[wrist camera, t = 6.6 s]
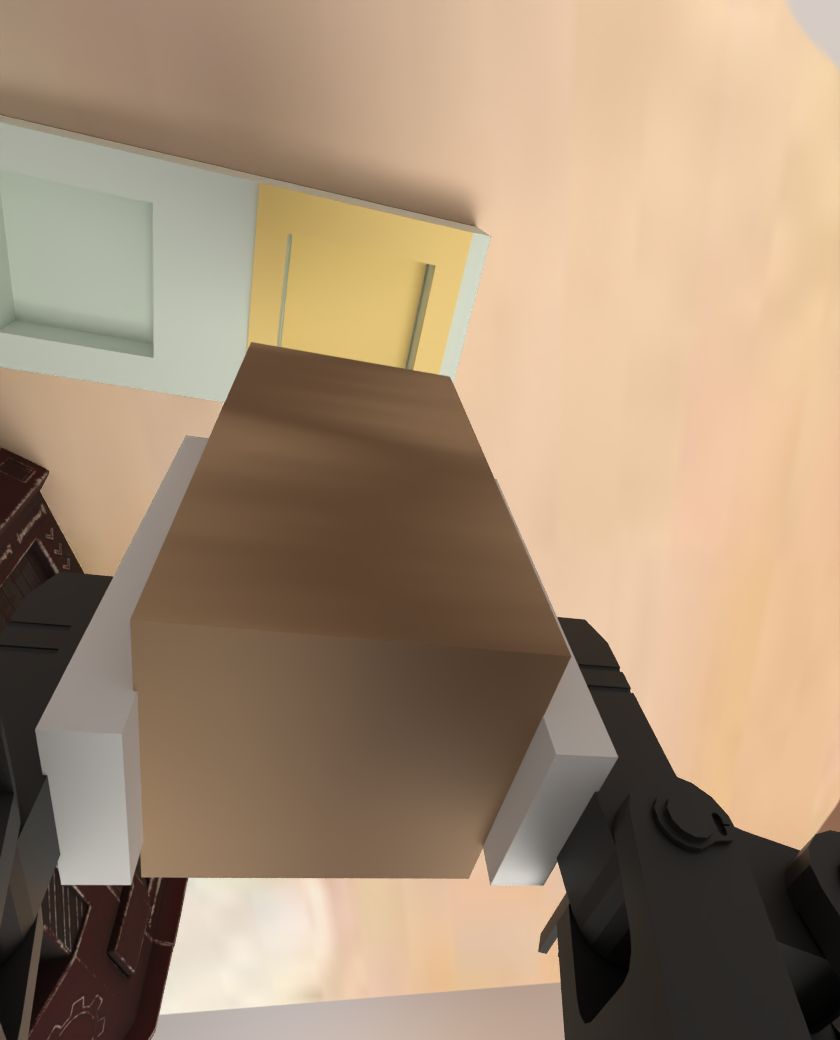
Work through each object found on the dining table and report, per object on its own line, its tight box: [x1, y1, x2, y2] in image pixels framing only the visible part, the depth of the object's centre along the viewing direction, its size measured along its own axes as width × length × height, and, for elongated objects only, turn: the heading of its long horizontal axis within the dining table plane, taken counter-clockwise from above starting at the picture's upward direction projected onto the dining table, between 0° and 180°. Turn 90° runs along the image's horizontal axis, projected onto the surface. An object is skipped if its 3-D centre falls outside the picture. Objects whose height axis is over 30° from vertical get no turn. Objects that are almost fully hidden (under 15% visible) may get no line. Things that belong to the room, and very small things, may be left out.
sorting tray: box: [0, 115, 491, 403], centre depth 25 cm, size 32×9×3 cm, turn 78°
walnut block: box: [130, 342, 571, 879], centre depth 11 cm, size 4×4×9 cm
